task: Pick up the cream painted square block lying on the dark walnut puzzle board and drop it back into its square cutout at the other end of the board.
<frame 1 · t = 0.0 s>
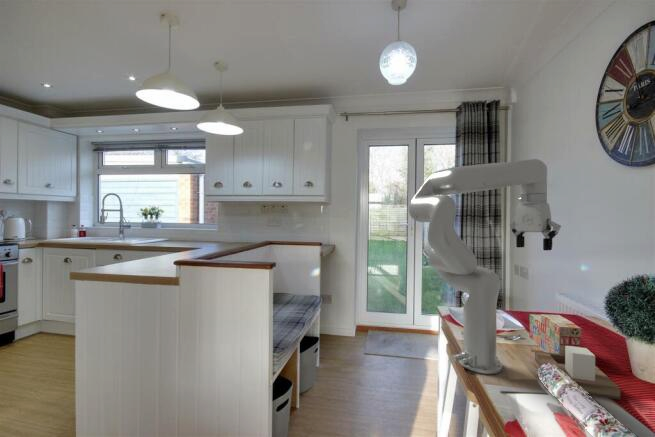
hand: (533, 248, 104), 37 cm above the table, tool pointing down, fingers open, 9 cm apart
cream block: (579, 375, 84), point 3 cm above the table, touching walnut puzzle board
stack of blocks: (552, 350, 107), on the table
walnut puzzle board: (572, 377, 89), on the table
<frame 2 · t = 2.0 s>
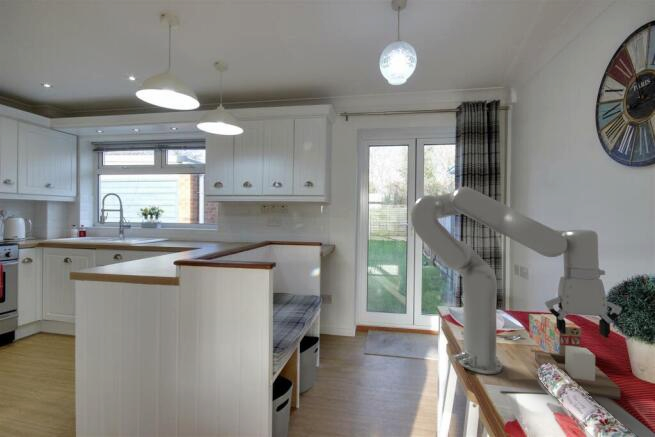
hand: (582, 334, 84), 15 cm above the table, tool pointing down, fingers open, 9 cm apart
nothing on the table moved.
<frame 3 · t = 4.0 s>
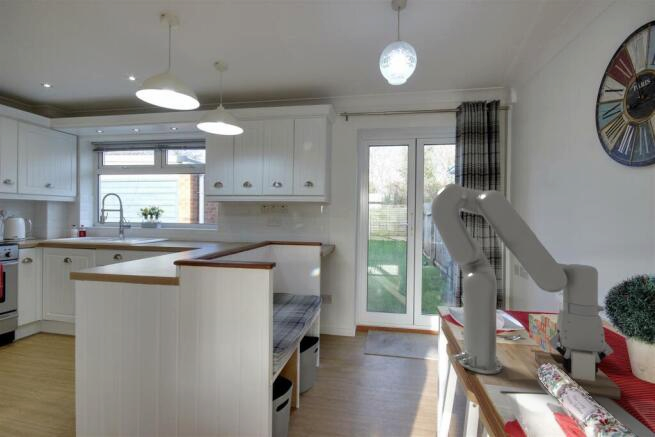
hand: (579, 371, 84), 4 cm above the table, tool pointing down, fingers closed on cream block, 5 cm apart
cream block: (579, 375, 84), point 3 cm above the table, touching gripper, walnut puzzle board
everything else where it was.
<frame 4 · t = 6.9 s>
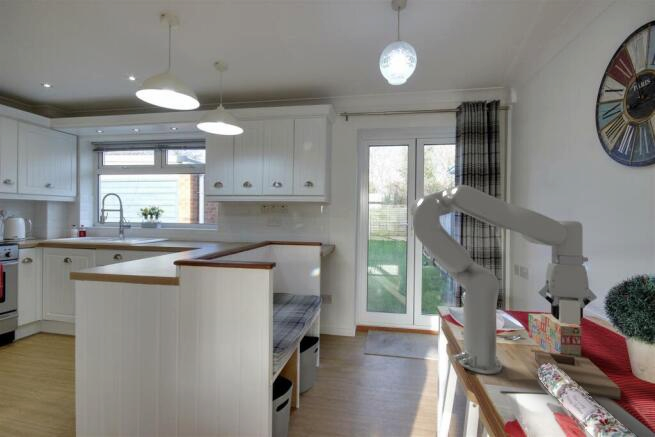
hand: (566, 318, 93), 16 cm above the table, tool pointing down, fingers closed on cream block, 5 cm apart
cream block: (566, 321, 93), point 15 cm above the table, touching gripper
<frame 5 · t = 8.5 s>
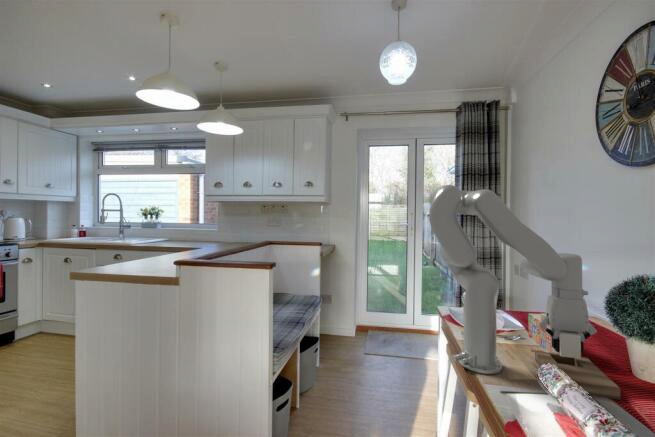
hand: (567, 350, 93), 6 cm above the table, tool pointing down, fingers closed on cream block, 5 cm apart
cream block: (567, 353, 93), point 5 cm above the table, touching gripper
when the fingers open (4 cm above the table, at t = 9.7 s): cream block drops 3 cm, resting on walnut puzzle board.
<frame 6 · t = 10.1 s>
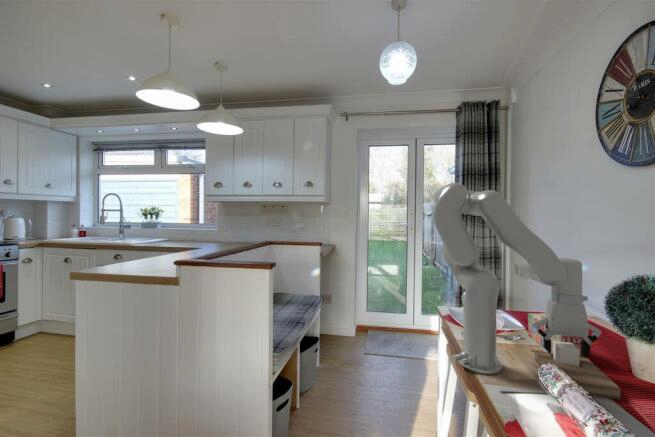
hand: (566, 353, 93), 5 cm above the table, tool pointing down, fingers open, 9 cm apart
cream block: (565, 367, 93), point 1 cm above the table, touching walnut puzzle board
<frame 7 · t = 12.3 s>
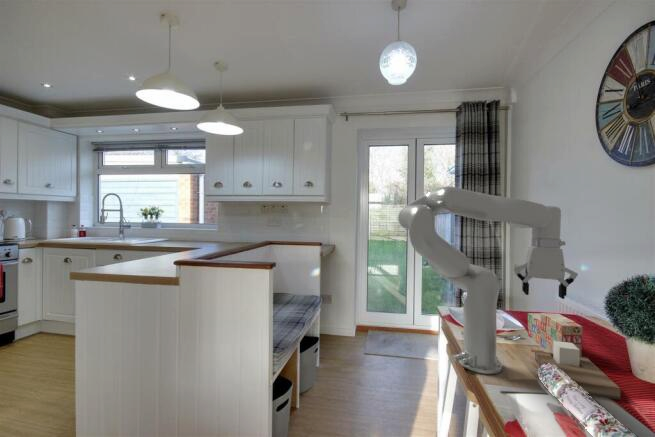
hand: (543, 295, 98), 22 cm above the table, tool pointing down, fingers open, 9 cm apart
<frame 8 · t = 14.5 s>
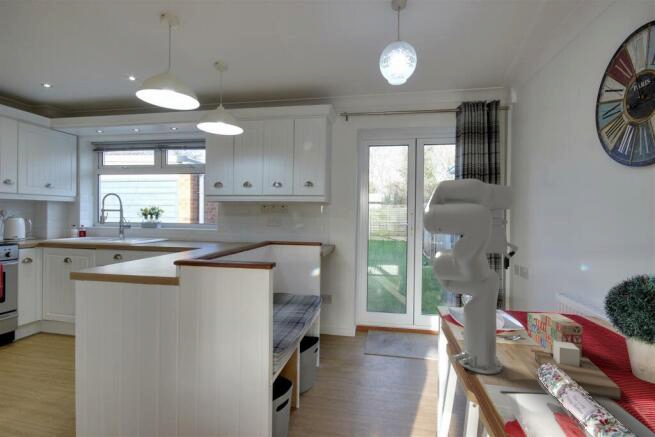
hand: (491, 268, 113), 28 cm above the table, tool pointing down, fingers open, 9 cm apart
at the end: cream block 0.1 cm from the target spot on the walnut puzzle board, point 0.8 cm above the walnut puzzle board's base; cream block tilted 0°; the gripper is holding nothing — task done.
